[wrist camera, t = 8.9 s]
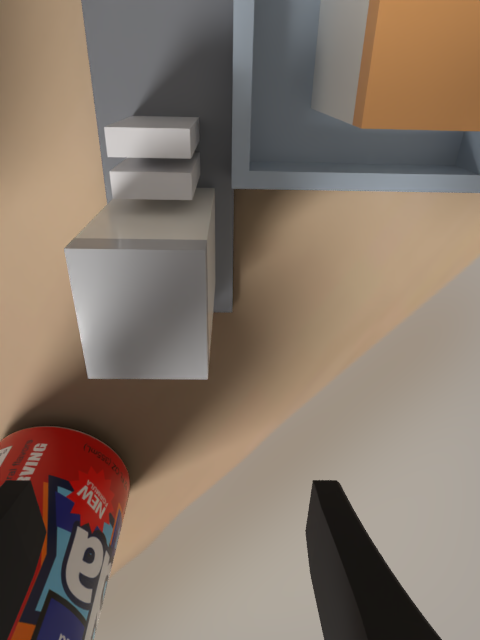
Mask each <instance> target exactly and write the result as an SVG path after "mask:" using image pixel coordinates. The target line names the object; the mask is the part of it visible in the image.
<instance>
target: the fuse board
mask: <svg viewBox="0 0 480 640" xmlns="http://www.w3.org/2000/svg"><path fill="white" fill-rule="evenodd" d="M81 2H82V10H83V17H84V25H85V33H86V41H87V49H88V57H89V64H90V72H91V80H92V88H93V96H94V104H95V111H96V119H97V127H98V135H99V143H100V151H101V159H102V166H103V174H104V182H105V190H106V198H107V204H108V203H109V202H110V201H111V200H112V199H148V200H192V199H193V196H194V193H195V190H196V188H215V295H214V307H213V312H232V300H233V225H234V189H232V86H233V0H81Z"/></svg>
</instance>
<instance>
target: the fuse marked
mask: <svg viewBox="0 0 480 640" xmlns="http://www.w3.org/2000/svg"><path fill="white" fill-rule="evenodd" d="M311 109H314V110H316V111H319V112H321V113H324V114H326V115H329V116H331V117H334V118H336V119H339V120H341V121H343V122H346V123H348V124H351V125H353V126H356V127H358V128H361V129H399V130H440V131H480V0H321V2H320V13H319V24H318V34H317V45H316V56H315V67H314V78H313V89H312V99H311Z"/></svg>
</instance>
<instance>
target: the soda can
mask: <svg viewBox="0 0 480 640" xmlns="http://www.w3.org/2000/svg"><path fill="white" fill-rule="evenodd" d="M7 480H31V483H32V486H33V489H34V492H35V496H36V499H37V502H38V505H39V509H40V512H41V515H42V518H43V522H44V525H45V528H46V531H47V533H46V536H45V540H44V543H43V547H42V550H41V554H40V557H39V561H38V564H37V567H36V570H35V574H34V576H33V579H32V581H31V584H30V586H29V589H28V591H27V594H26V596H25V599H24V601H23V603H22V606H21V608H20V611H19V613H18V615H17V618H16V620H15V623H14V625H13V627H12V630H11V632H10V634H9V637H8V639H7V640H94V637H95V633H96V629H97V625H98V621H99V616H100V612H101V608H102V604H103V600H104V596H105V592H106V588H107V584H108V580H109V576H110V572H111V567H112V563H113V559H114V555H115V551H116V547H117V543H118V539H119V535H120V531H121V527H122V522H123V518H124V514H125V510H126V506H127V502H128V497H129V491H130V478H129V474H128V471H127V469H126V466H125V465H124V463H123V461H122V460H121V458H120V457H119V456H118V455H117V454H116V452H115V451H113V450H112V449H111V448H110V447H109V446H108V445H106V444H105V443H103V442H102V441H100V440H99V439H97V438H95V437H93V436H91V435H88V434H86V433H83V432H81V431H77V430H74V429H70V428H64V427H57V426H38V427H31V428H26V429H23V430H19V431H17V432H14V433H12V434H10V435H8V436H6V437H5V438H3V439H2V440H1V441H0V486H1V485H2V484H3V483H4V482H5V481H7Z"/></svg>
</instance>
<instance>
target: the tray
mask: <svg viewBox="0 0 480 640" xmlns="http://www.w3.org/2000/svg"><path fill="white" fill-rule="evenodd" d="M320 2H321V0H233V86H232V189H278V190H337V191H397V192H456V193H480V131H440V130H399V129H361V128H358V127H356V126H353V125H351V124H348V123H346V122H343V121H341V120H339V119H336V118H334V117H331V116H329V115H326V114H324V113H321V112H319V111H316V110H314V109H311V99H312V89H313V78H314V67H315V56H316V45H317V34H318V24H319V13H320Z"/></svg>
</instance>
